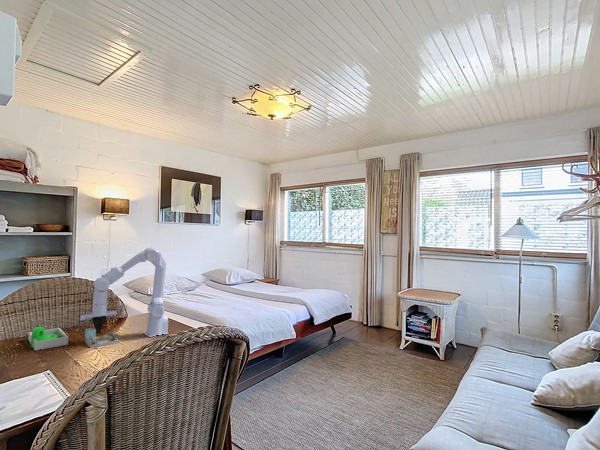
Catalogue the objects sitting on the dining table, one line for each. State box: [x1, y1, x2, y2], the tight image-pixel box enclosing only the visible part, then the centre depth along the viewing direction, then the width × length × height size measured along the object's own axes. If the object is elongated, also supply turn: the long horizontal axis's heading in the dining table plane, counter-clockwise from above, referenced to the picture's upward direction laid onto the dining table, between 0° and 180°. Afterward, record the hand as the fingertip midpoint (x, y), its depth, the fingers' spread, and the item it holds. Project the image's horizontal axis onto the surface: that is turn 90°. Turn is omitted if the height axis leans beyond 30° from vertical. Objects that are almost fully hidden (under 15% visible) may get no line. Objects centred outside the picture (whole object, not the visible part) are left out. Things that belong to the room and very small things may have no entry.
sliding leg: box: [84, 327, 97, 343], centre depth 148 cm, size 4×7×5 cm, turn 47°
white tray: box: [27, 327, 69, 351], centre depth 147 cm, size 12×18×4 cm, turn 47°
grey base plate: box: [84, 331, 119, 345], centre depth 151 cm, size 13×7×3 cm, turn 137°
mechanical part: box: [30, 326, 60, 348], centre depth 147 cm, size 12×6×8 cm, turn 7°
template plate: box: [86, 338, 120, 349], centre depth 148 cm, size 12×5×1 cm, turn 137°
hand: (98, 332), depth 151 cm, fingers closed
